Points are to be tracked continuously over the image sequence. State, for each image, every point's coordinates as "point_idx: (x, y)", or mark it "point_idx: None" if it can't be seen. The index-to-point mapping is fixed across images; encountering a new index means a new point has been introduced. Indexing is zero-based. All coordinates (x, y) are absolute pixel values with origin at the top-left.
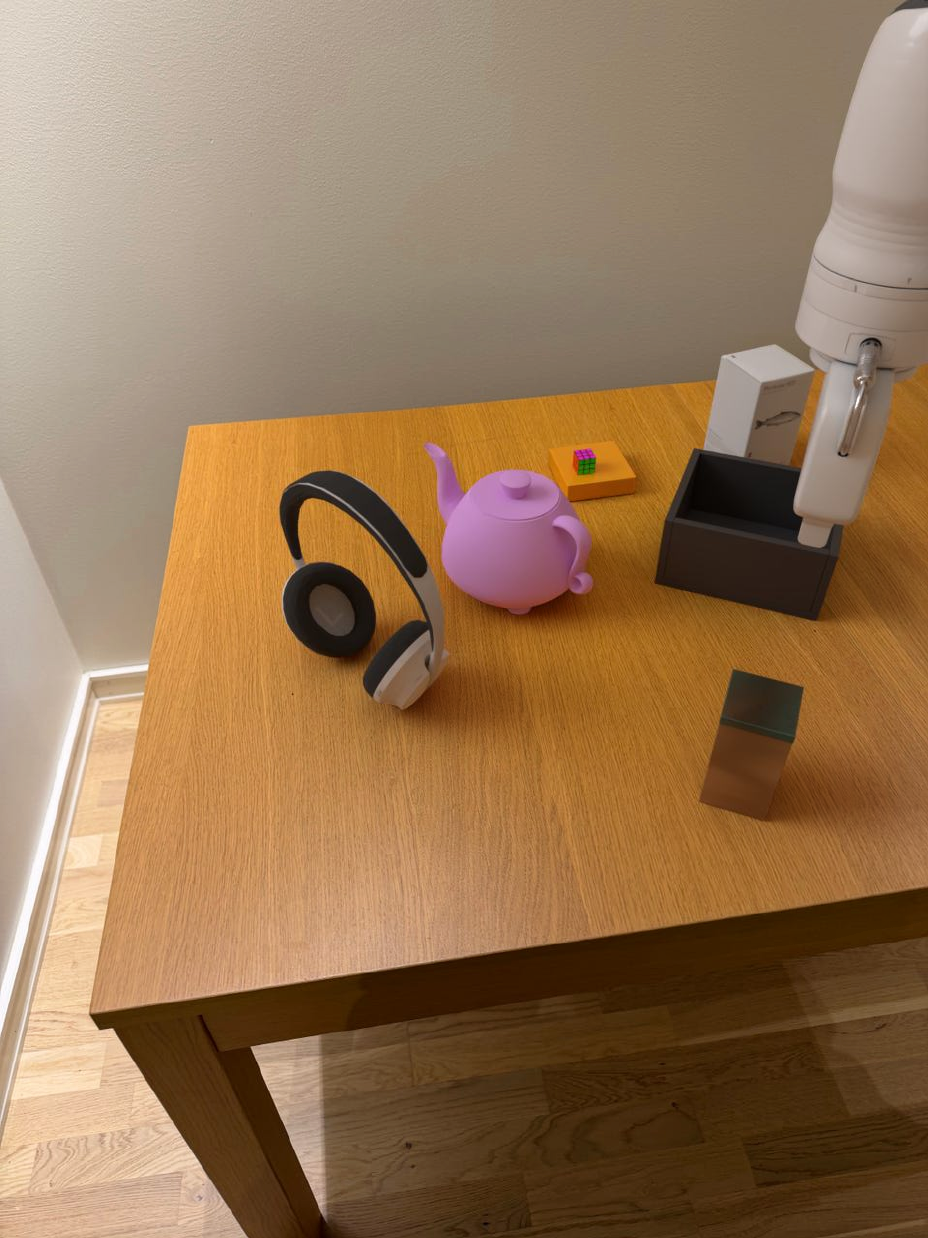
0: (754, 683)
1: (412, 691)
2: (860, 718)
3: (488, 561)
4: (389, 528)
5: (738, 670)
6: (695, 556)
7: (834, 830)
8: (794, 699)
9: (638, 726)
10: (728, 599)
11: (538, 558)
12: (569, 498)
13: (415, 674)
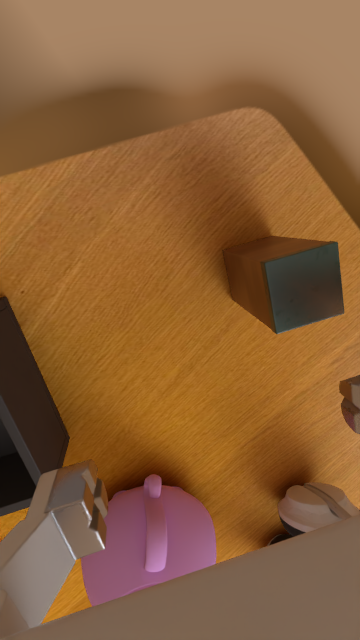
0: (286, 307)
1: (345, 496)
2: (112, 207)
3: (213, 558)
4: None
5: (276, 328)
6: (47, 438)
7: (251, 182)
8: (287, 263)
9: (236, 358)
10: (42, 377)
11: (188, 537)
12: None
13: (347, 508)
